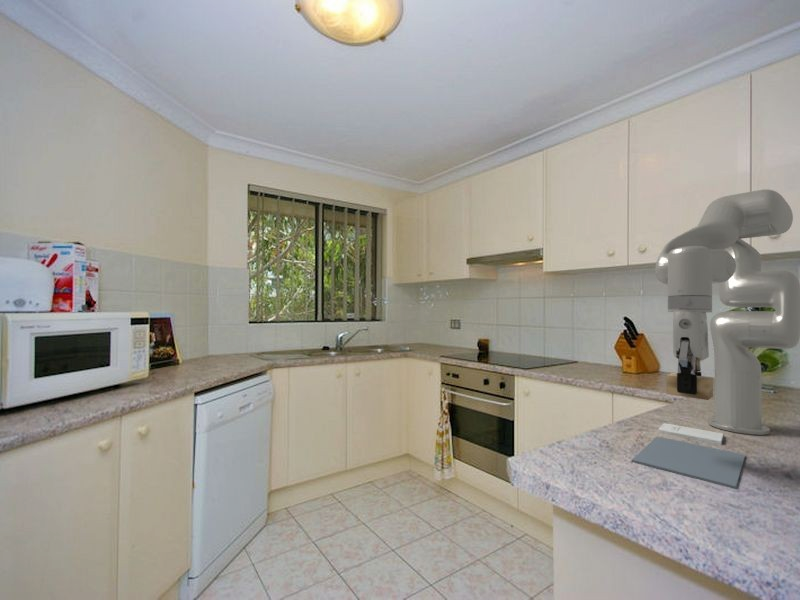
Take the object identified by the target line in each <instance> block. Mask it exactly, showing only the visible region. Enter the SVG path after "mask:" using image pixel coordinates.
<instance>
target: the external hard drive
mask: <svg viewBox="0 0 800 600" xmlns="http://www.w3.org/2000/svg"><path fill="white" fill-rule="evenodd" d="M657 432H659V434H665V435H668V436H675V437H679V438H684V439H690V440H693V441H699V442H700V441H701V442H703V443H704V442H705V443H709V444H715V445H721V446H722V444H723V441H724V439H725V438H724V437H725V433H722V432H717V431H710V430H705V429H700V428H699V429H698V428H695V427H690V426H689V427H688V426H682V425H677V424H673V423H666V422H664V423H662V424H661V425H660V426H659V428H658V431H657Z"/></svg>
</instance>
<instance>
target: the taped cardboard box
mask: <svg viewBox="0 0 800 600" xmlns="http://www.w3.org/2000/svg"><path fill="white" fill-rule="evenodd" d="M665 379H666V380H665V381H666V385H665V387H666V391H665V392H666V395H670V396H671V395H672V396H676V397H677V396H678V397H684V398H692V399H699V400H705V401H709V400H711V399H712V398H713V397H714V377H712V376H711V377H710V376H702V375H701V376H697V394H695V395H693V394H685V393H679V392H677V372H675V373H674V372H671V373H668V374H666V378H665Z"/></svg>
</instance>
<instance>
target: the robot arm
mask: <svg viewBox="0 0 800 600" xmlns="http://www.w3.org/2000/svg"><path fill="white" fill-rule="evenodd" d="M709 203H710V202H709ZM793 219H794V215H793V210H792V209H791V206H790V205H789V203H788V202H787V200H785V198H784V197H783V196H782V195H781V194H780V193H779V192H777V191H775V190H773V189H769V188H768V189H758V190H753V191H748V192H741V193H736V194H730V195H725V196H721V197H718V198H716V199H715V200H713V201H711V203H710V204H708V206H707V207H706V209H705V211H704V212H703V215H702V217H701V219H700V220H699V222H698V224H697V226H695V227H692V228H691V229H689V230H687V231H684V232H683V233H682V234H679V235H677V236H675V237H674V238H673V239H671V240H669V241H668V242H667V243H666V244H665V245H664V247H663V248H662V250H661V252H660V253H659V256H658V258H657V260H656V262H655V268H654V269H655V270H654V271H655V276H656V279H657V280H658V281H659V282H660V283H661V284H664V285H666V286H667V312H668V313H673V318H672V319H673V321H672V324H673V326H672V349H673V350H672V351H673V356H674V358H676V359H678V360H677V372H676V374H677V392H679V393H685V394H693V395H695V394H697V376H702V371H701V367H702V366H701V361H704V360H706V359H708V358H709V356H710V355H709V354H710V352H709V331H708V330H710V334H711V335H710V336H711V341H712V345H713V355H714V416H713V417H709V418H707V424H708V425H709V426H712V427H714V428H717V429H719V430H723V431H729V432H732V433H733V432H734V433H738V434H746V435H756V436H764V435H769V434H770V433H771V428H770V427H768V426H767V425H765V424H763V422H762V421H763V420H762V416H763V415H762V413H763V411H762V406H763V405H762V404H763V402H762V400H763V399H762V365H761V362H760V360H759V359H758V357H757V356H756V355H755V354H753V352H752V351H751V350H749V348H763V349H780V350H781V349H782V350H783V349H784V350H785V349H786V350H788V349H794V348H795V347H796V346H797V345H798V344H799V341H800V281H799V279H798V277H797V275H796V274H795V273H793V272H790V271H787V270H786V271H785V270H769V271H762V255H761V253H760V252H759V251H758V250H757V249H756V247H753V245H751V244H749V243H748V242H746V241H744V239H749V238H761V237H769V236H777V235H778V236H779V235H782V234H785V233H787V232H788V231H789V230H790V229H791V228H792V225H793ZM713 284H719V287H718V290H719V291H718V292H719V293H718V294H719V299H720V300H719V301H721V304H723V305H725V306H726V307H731V308H733V307H734V308H772V309H774V310H775V311H773V310H772V311H770V310H769V311H762V310H760V311H759V310H756V311H755V310H727V311H720V312H718V313H716V314H714V315H713V316H712V317H711V319H710V322H709V328H708V316H707V313H713Z"/></svg>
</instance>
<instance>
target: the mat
mask: <svg viewBox="0 0 800 600" xmlns="http://www.w3.org/2000/svg"><path fill="white" fill-rule="evenodd" d="M745 458H746V454H743V453H739V452H735V451H729V450H724V449H719V448H714V447H710V446H705V445H700V444H695V443H691V442H686V441H681V440H676V439H671V438H667V437H662V436H656V437H654V439H653V440H651V441H650V442H649V443H648V444H647V445H646V446H645V447H644V448H642V450H641V451H639V452H638V453H637V454H636V455H635V456H634V457H633V458H632V459H631V462H632V463H636V464H640V465H643V466H647V467H650V468H655V469H658V470H663V471H666V472H670V473H674V474H678V475H682V476H686V477H690V478H693V479H698V480H700V481H705V482H708V483H712V484H713V483H714V484H715V485H720V486H725V487H728V488H731V489H737V485H738V483H739V479H740V475H741V472H742V469H743V465H744V463H745V462H744V461H745Z"/></svg>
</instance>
